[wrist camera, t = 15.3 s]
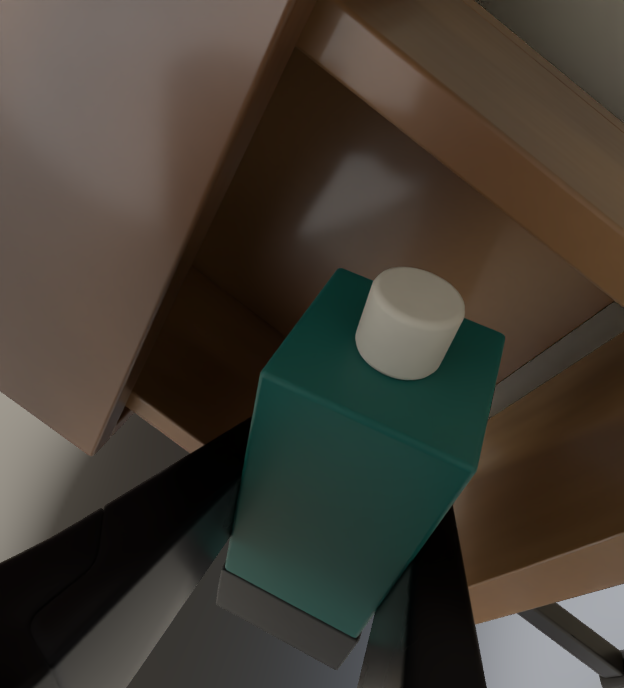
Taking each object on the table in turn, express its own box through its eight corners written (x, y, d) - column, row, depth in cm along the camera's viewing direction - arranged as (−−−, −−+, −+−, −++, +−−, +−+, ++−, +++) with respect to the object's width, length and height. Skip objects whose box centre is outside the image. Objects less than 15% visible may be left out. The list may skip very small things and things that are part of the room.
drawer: (1008, 383, 11) (1288, 695, 7) (553, 549, 20) (541, 735, 15) (332, -178, 10) (124, -256, 6) (160, 251, 19) (22, 356, 14)
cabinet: (486, -105, 11) (356, -138, 5) (238, 303, 20) (91, 459, 14) (-118, -611, 10) (-1141, -1375, 4) (-84, 59, 19) (-379, 118, 13)
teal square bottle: (350, 206, 8) (264, 308, 6) (543, 281, 7) (524, 419, 5) (271, 501, 13) (214, 605, 11) (377, 554, 13) (336, 672, 11)
